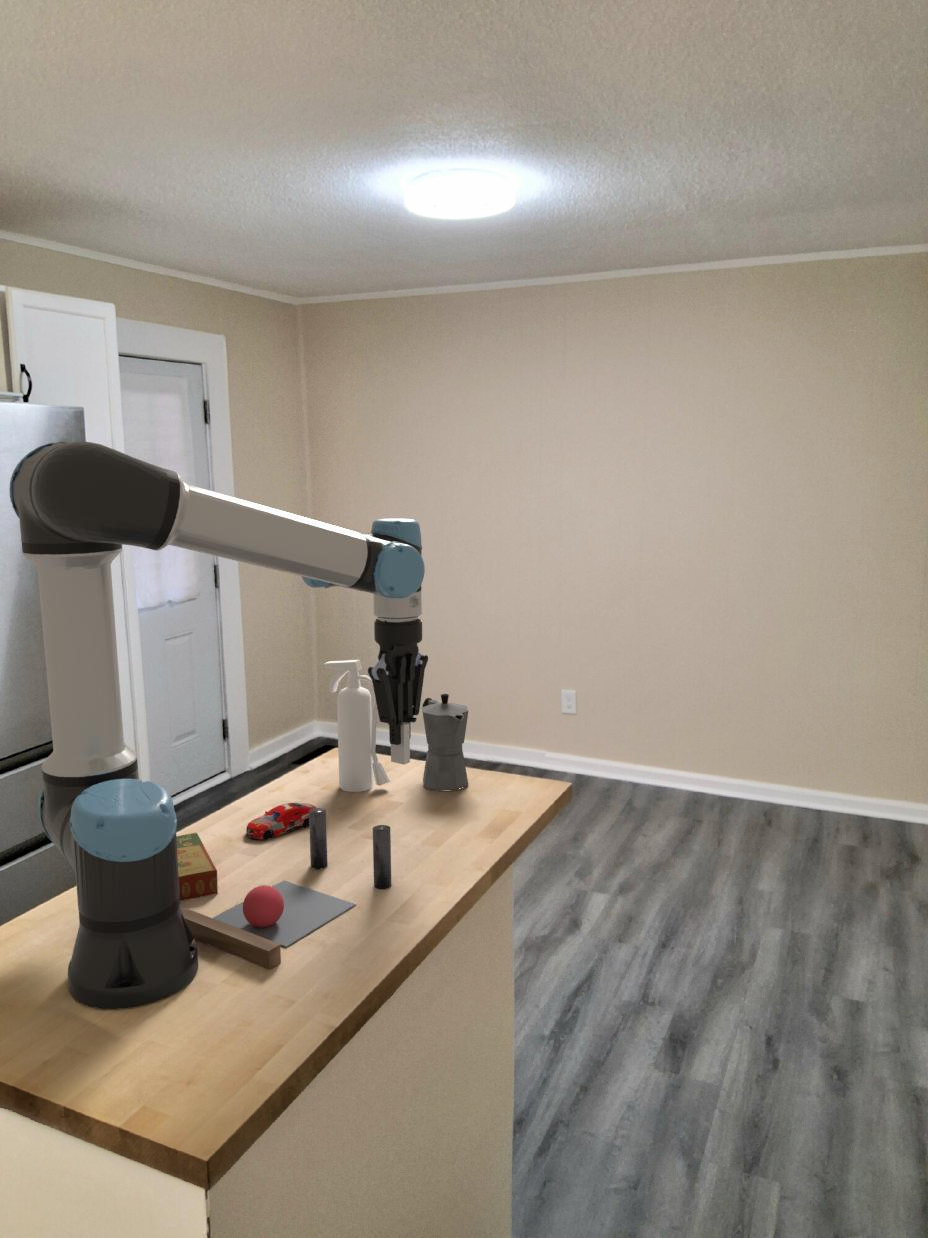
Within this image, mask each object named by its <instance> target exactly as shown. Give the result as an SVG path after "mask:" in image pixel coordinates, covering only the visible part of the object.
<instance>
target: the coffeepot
mask: <svg viewBox="0 0 928 1238" xmlns="http://www.w3.org/2000/svg"><path fill="white" fill-rule="evenodd" d="M440 698H441V702H439V701H438V700H436V699H432V698H431V697H426V698H425V699H424V701H423V703H422V705H421V706H422V707H421V710H422V717H423V725H424V731H425V738H426V744H427V751H426V759H425V764H424V771H423V775H422V776H423V777H422V783H423V787H425V788H426V789H428V788H429V789H428V790H431V789H432V790H431V791H435V790H438V791H437V792H442V791H441V790H455V791H459V790H460V789H459V788H462V787H464V788H466V787H467V786H468V785H469V779H468V774H467V768H466V762H465V761H466V760H465V756H464V755H465V754H464V752H463V744H464V743H465V739H466V730H467V724H468V717H469V709H468V707H467V705H464V704H459V703H453V702H449V699H450V695H449V694H447V693H442V694H440ZM466 785H467V786H466ZM465 786H466V787H465ZM458 789H459V790H458ZM462 789H463V788H462Z"/></svg>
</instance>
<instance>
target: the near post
mask: <svg viewBox="0 0 928 1238" xmlns="http://www.w3.org/2000/svg"><path fill="white" fill-rule="evenodd" d="M391 837H392V835H391V826H389V825H386V824H378V825H375V826H373V827H372V856H373V857H372V858H373V860H372V861H373V864H372V865H373V866H372V867H373V887H374V888H375V889H376V890H382V891H384V890H388V889H390V888H391V887H392V849H391V848H392V847H391V846H392V845H391V842H392V841H391V840H392V839H391Z"/></svg>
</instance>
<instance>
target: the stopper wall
mask: <svg viewBox="0 0 928 1238" xmlns="http://www.w3.org/2000/svg"><path fill="white" fill-rule="evenodd" d="M181 911H182V913H183V915H184V918H185V920H186V922H187V924H188V927H189V929H190V931H191V933H192V936H193V938H194V940H196V941H198V942H200V943H203V944H206V945H208V946H210V947H213V948H215V949H217V950H220V951H223V952H225V953H227V954H229V955H232V956H234V957H237V958H240V959H242V960H244V961H247V962H250V963H252V964H254V965H257V966H259V967H262V968H264V969H267V970H271V969H273V968H274V967H277V966H278V965H280V964H282V954H281V953H282V952H281V946H280V944H278V943H276V942H273V941H270V940H268V939H265V938H262V937H260V936H257V935H255V934H252V933H249V932H247V931H244V930H242V929H239V928H236V927H234V926H231V925H229V924H226V923H223V922H221V921H218V920H216V919H213V917H210V916H208V915H205V914H202V913H201V912H197V911H195V910H192V909H189V908H187V907H182V908H181Z"/></svg>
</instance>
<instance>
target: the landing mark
mask: <svg viewBox="0 0 928 1238" xmlns="http://www.w3.org/2000/svg"><path fill="white" fill-rule="evenodd" d="M271 887H273V888H275V889H277V890H278V891H279V892H280V894H281V895H282V898H283V901H284V910H283V913H282V915H281V917H280V919H279V920H278V921H277V922H276V923H275V924H273V925H271V926H269V927H265V928H259V927H255V926H253V925H251V924H250V923H249V922H248V921H247V920H246V918H245V916H244V914H243V902H244V901H242V902H240V903H238V904H236V905H234V906H233V907H231V908H229V909H226V910H225V911H223V912H221V913H219V914H216V915H215V916H213V917H212V918H213V919H216V920H218V921H221V922H223V923H226V924H229V925H231V926H234V927H236V928H239V929H242V930H244V931H247V932H249V933H252V934H255V935H257V936H260V937H262V938H265V939H268V940H270V941H273V942H276V943H278V944H280V947H283V948H285V949H287V948H288V947H291V946H292V945H293V944H295V943H297V942H298V941H300V940H302V939H303V938H304V937H306V936H308V935H310V934H311V933H313V932H315V931H317V930H318V929H319V928H322V927H323V926H325V925H326V924H328V923H329V922H331V921H333V920H334V919H336V918H338V917H340V916H341V915H343V914H344V913H346V912H348V911H349V910H351V909H352V908H354V907H356V906H357V905H356V904H357V903H354V902H351V901H347V900H345V899H342V898H339V897H335V896H332V895H330V894H327V893H324V892H320V891H318V890H314V889H311V888H308V887H305V886H303V885H299V884H296V883H293V882H291V881H287V880H285V879H284V880H282V881H280V882H278V883H275V884H274V885H272V886H271Z"/></svg>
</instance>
